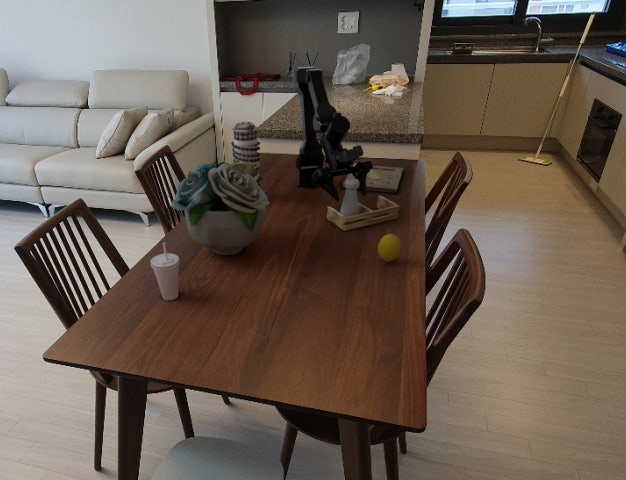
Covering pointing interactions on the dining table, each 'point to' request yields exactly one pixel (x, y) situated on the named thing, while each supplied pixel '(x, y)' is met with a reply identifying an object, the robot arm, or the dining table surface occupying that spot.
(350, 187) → the salt shaker
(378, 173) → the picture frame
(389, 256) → the lemon
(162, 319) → the dining table surface
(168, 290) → the smoothie
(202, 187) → the flower arrangement
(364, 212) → the rack
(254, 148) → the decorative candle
